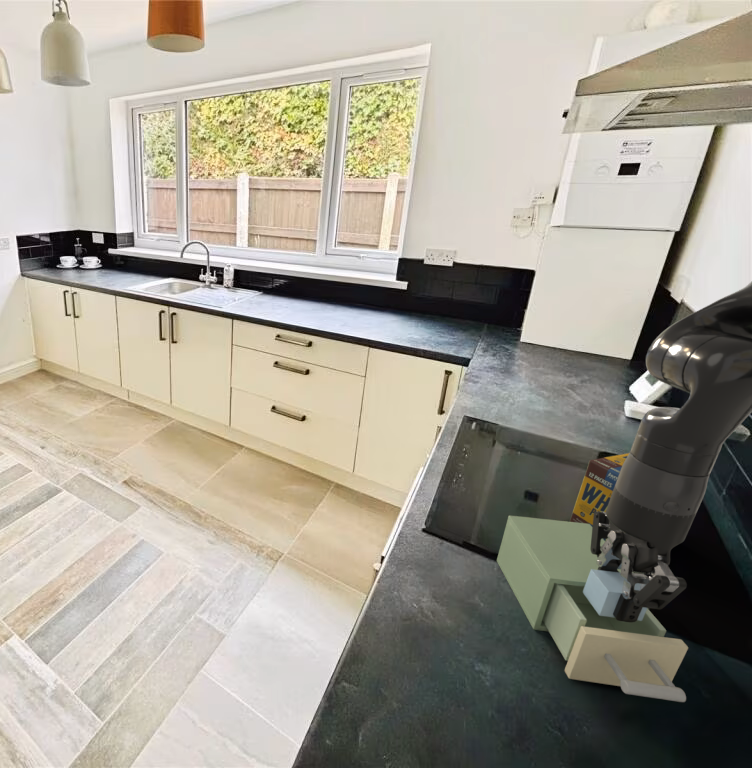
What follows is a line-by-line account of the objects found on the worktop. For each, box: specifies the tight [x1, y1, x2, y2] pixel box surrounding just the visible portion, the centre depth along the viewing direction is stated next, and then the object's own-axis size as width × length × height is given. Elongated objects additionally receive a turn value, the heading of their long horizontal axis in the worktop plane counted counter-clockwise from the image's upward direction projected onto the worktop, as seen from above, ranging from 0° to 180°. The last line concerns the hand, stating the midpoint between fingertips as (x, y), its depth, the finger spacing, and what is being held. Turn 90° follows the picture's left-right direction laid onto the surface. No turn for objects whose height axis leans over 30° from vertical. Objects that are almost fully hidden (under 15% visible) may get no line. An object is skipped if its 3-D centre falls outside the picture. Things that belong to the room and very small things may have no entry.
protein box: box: [569, 452, 710, 541], centre depth 85 cm, size 10×15×16 cm
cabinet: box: [496, 514, 634, 633], centre depth 72 cm, size 15×13×10 cm
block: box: [583, 569, 647, 621], centre depth 60 cm, size 5×4×4 cm
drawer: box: [542, 583, 689, 703], centre depth 61 cm, size 18×11×8 cm, turn 171°
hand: (611, 604), depth 60 cm, fingers closed on block, 4 cm apart
